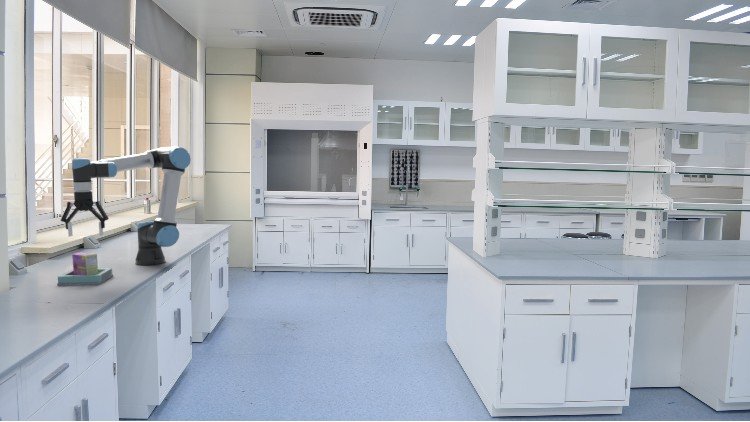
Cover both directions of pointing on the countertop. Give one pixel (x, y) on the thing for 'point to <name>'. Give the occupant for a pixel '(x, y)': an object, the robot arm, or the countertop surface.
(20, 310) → the countertop surface
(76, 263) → the box
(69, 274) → the teal square tray
